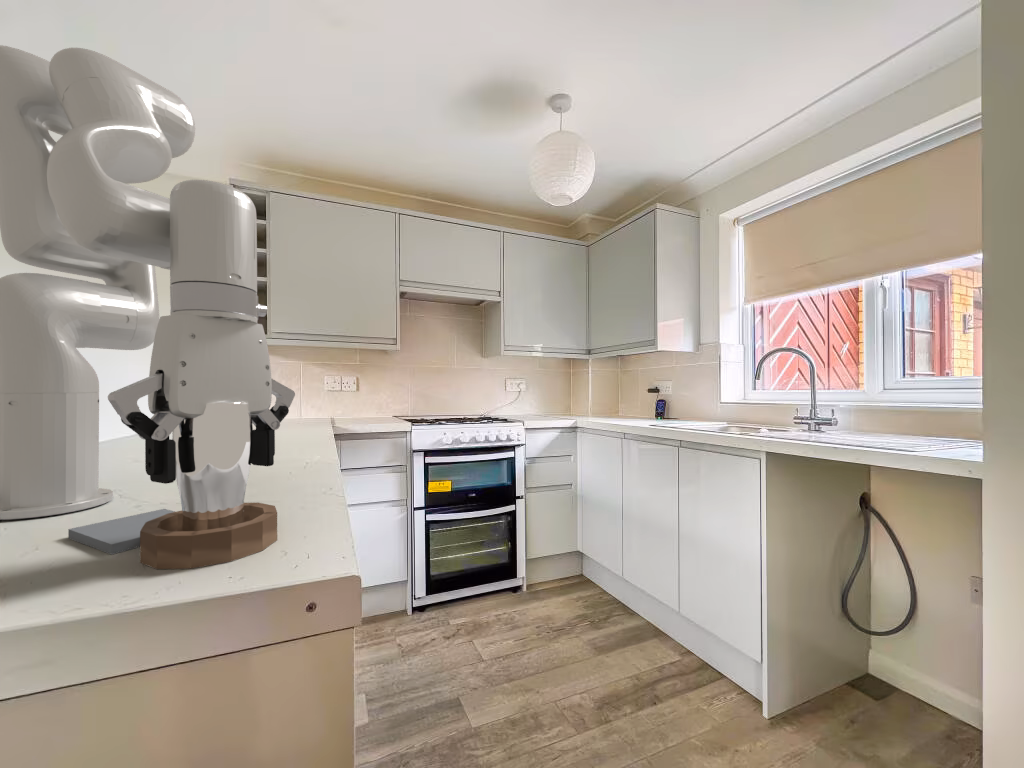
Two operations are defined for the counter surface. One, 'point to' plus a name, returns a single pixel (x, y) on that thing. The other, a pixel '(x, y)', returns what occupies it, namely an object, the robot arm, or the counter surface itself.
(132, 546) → the slate mat
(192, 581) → the counter surface
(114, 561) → the counter surface
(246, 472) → the beer glass
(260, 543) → the ring
